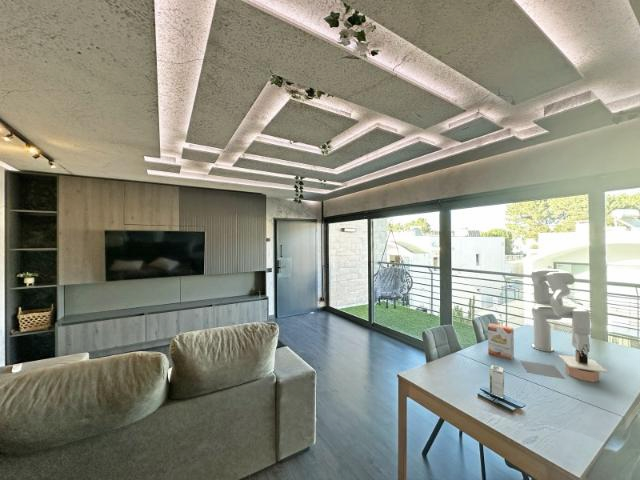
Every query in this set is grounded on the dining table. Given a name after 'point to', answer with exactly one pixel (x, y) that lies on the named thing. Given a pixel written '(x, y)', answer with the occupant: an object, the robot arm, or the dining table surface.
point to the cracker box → (501, 341)
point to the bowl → (583, 374)
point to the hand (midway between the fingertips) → (581, 360)
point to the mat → (541, 369)
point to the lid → (575, 363)
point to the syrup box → (497, 380)
